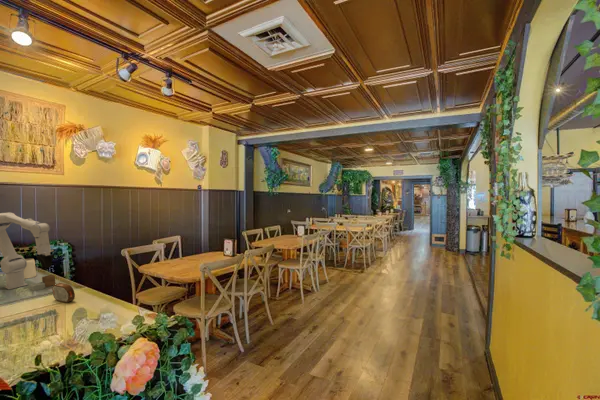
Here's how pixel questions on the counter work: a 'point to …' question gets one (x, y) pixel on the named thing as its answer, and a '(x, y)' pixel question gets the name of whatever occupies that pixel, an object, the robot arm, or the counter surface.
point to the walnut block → (48, 280)
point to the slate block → (37, 286)
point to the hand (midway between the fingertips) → (46, 267)
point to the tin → (63, 292)
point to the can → (30, 269)
